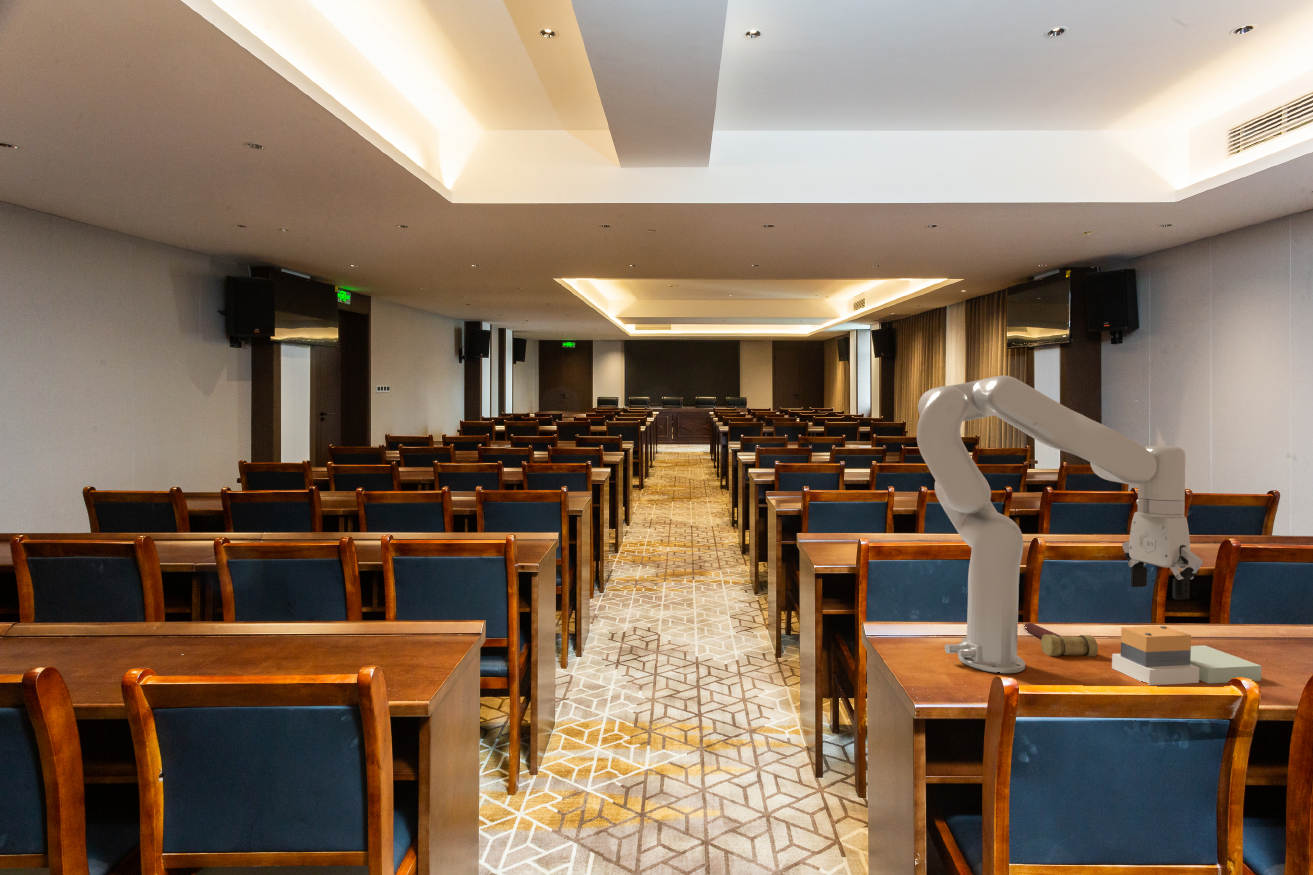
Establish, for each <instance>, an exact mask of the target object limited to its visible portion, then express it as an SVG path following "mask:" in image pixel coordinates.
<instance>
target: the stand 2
mask: <svg viewBox="0 0 1313 875" xmlns="http://www.w3.org/2000/svg"><path fill="white" fill-rule="evenodd" d="M1190 664H1191V665H1194V666H1196V667H1199V681H1201V682H1203V683H1205V684H1223V683H1224V684H1225V683H1229V682H1228V681H1230V679H1232V678H1236V677H1244V678H1249V679H1252V680H1254V681H1253V682H1260V681H1262V665H1260V664H1259V663H1258V664H1257V663H1254V662H1253V661H1249V660H1246V659H1243V658H1242V657H1239V656H1235V655H1233V654H1231V653H1226V652H1225V651H1222V650H1218V649H1216V648H1213V647H1210V646H1208V645H1205V644H1204V645H1191V657H1190Z"/></svg>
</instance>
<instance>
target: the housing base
mask: <svg viewBox="0 0 1313 875" xmlns="http://www.w3.org/2000/svg"><path fill="white" fill-rule="evenodd" d="M1120 653H1121V657H1123V658H1126V659H1128V660H1130V661H1133V662H1135V663H1137V664H1139V665H1142V666H1144V667H1158V666H1180V665H1190V657H1191V650H1181V651H1158V652H1145V651H1142V650H1140V649H1137V648H1135V647H1132V646H1130V645H1128V644H1125V643H1123V642H1121V641H1120Z"/></svg>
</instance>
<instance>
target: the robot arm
mask: <svg viewBox="0 0 1313 875" xmlns="http://www.w3.org/2000/svg"><path fill="white" fill-rule="evenodd" d="M917 403H918V405H917V411H918V414H919V419H918V422H917V426H916V443H917V446H918V449H919V452H920V455H921V457H922V459H923V460H924V462H925V465H926V466H927V468H928V470H929V472H930V474H931V476H932V477H933V479H934V480H935V481H934V492H935V497H936V498H937V500H938V502H939V504H940V505H941V507H942V509H943V510H944V512H945V514H946V515H947V517H948V519H949V520H950V522H951V523H952V525H953V526H954V529H955V530H956V531H957V533H958V535H959V536H960V537H961V539H962V541H963V542H964V543H965V544H966V545H967V546H968V547H969V548H971V550H970V551H971V552H970V553H971V554H970V560H969V564H968V576H967V577H968V578H967V614H966V615H967V617H966V618H967V619H966V620H967V622H966V625H967V626H966V637H962V638H961V642H959V643H957V644H955V643H947V644H945V645H944V651H945V653H946V654H948V655H949V654H950V655H951V654H957V655H958V656H957V657H958V660H959V661H960V662H961V663H962V664H964V665H966V666H968V667H971V668H973V669H976V670H980V671H984V672H990V673H996V674H998V673H997V672H1000V673H999V674H1016V673H1019V672H1022V671H1024V670H1025V669H1026V661H1025V660H1024V659H1023V658H1021V657H1020V656H1019V655H1018V626H1019V625H1018V624H1019V594H1020V593H1019V592H1020V591H1019V590H1020V589H1019V588H1020V587H1019V586H1020V585H1019V584H1020V571H1021V570H1020V568H1021V564H1022V563H1021V562H1022V559H1023V558H1022V557H1023V554H1024V553H1023V551H1024V536H1023V533H1022V531H1021V528H1020V526H1019V525H1018V524H1017V523H1016V522H1015V521H1014V520H1013V519H1011V518H1010V517H1009V516H1008V515H1005V514H1002V513H1000V512H998V511H997V509H996V508H995V506H994V504H993V502H992V501H991V499H992V498H991V497H992V490H991V486H990V485H989V482H988V480H987V478H986V477H985V476H984V475H983V473H982V472H981V470H980V469H979V468H978V466H977V463H975V460H974V459H973V458H972V456H971V455H970V453H969V451H968V449H967V447H966V446H965V444H964V442H963V439H962V435H961V428H962V423H963V422H967V421H974V420H978V419H984V418H990V417H994V416H995V417H997V418H998V419H1000V420H1002V421H1004V422H1005V423H1007V424H1009V425H1011V426H1012V427H1015V428H1016V429H1017V430H1019V431H1021V432H1023V433H1024V434H1026V435H1028V436H1029V437H1031V439H1032V438H1033V439H1034V440H1035V441H1038V442H1039V443H1041V444H1043V445H1045V446H1048V447H1050V448H1053V449H1055V450H1060V451H1063V452H1066V453H1069V454H1071V455H1074V456H1077V457H1079V458H1081V459H1083V460H1086V461H1087V462H1089V463H1090V467H1091V470H1092V471H1093V473H1094V474H1095V475H1096V476H1098V477H1100V478H1101V479H1103V480H1107V481H1109V482H1114V483H1115V482H1116V483H1120V484H1126V485H1132V486H1135V485H1137V499H1136V501H1135V502H1136V503H1135V504H1136V505H1137V511H1135V512H1134V513H1133V517H1132V520H1131V525H1130V532H1129V540H1127V541H1125V542H1123V543H1122V544H1121V547H1122V550H1123V551H1124V557H1125V559H1126V560H1127V561H1128V566H1129V567H1130V587H1132V588H1140V587H1141V588H1145V587H1147V585H1148V567H1147V566H1146V567H1145V565H1146V564H1149V565H1153V566H1156V567H1160V568H1161V567H1162V568H1170V570H1171V572H1172V574H1173V575H1174V577H1175V578H1173V579H1172V599H1173V600H1189V599H1190V597H1191V596H1190V595H1191V591H1190V590H1191V580H1193V579H1194V577H1195V576H1196V575H1197V574H1198V573H1199V572H1200V571H1199V570H1200V568H1201V566H1202V564H1203V559H1201V558H1200V557H1199V556H1198V555H1197V554H1196V553H1194V552H1193V551H1191V539H1190V531H1189V524H1188V519H1187V517H1186V516H1185V500H1186V499H1185V498H1186V497H1185V496H1186V494H1185V493H1186V452H1185V450H1184V449H1183V448H1181V447H1178V446H1169V445H1168V446H1165V445H1151V446H1150V445H1148V446H1143V445H1141V444H1140V443H1137V442H1136V441H1134V440H1133V439H1131V438H1129V437H1127V436H1126V435H1124V434H1122V433H1120V432H1118V431H1116V430H1115V429H1113V428H1111V427H1109V426H1106V425H1105V424H1102V423H1100V422H1097V421H1096V420H1093V419H1091V418H1089V417H1087V416H1085V415H1084V414H1081V413H1079V412H1077V411H1074V410H1072V409H1071V408H1068V407H1067V406H1066V405H1063V404H1062V403H1059V402H1058V401H1056V400H1054V399H1052V398H1051V397H1049V396H1047V395H1045V394H1044V393H1043V392H1040V391H1039V390H1037V389H1035V388H1033V387H1032V386H1030V385H1029V384H1026V383H1025V382H1023V381H1021V380H1020V379H1018V378H1015V377H1013V376H1010V375H997V376H991V377H987V378H982V379H978V380H973V381H969V382H964V383H957V384H952V385H942V386H937V387H933V388H930V389H929V390H927V391H925V392H924V393H923V394H922V395H921V396H920V399H918V402H917Z"/></svg>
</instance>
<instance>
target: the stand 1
mask: <svg viewBox="0 0 1313 875" xmlns="http://www.w3.org/2000/svg"><path fill="white" fill-rule="evenodd" d="M1111 658H1112V659H1111V669H1112V670H1115V671H1118V672H1120V673H1122V674H1124V675H1126V676H1127V677H1130V678H1133V679H1135V680H1136V681H1138V682H1141V681H1143V682H1147V683H1149V684H1148V686H1161V685H1181V684H1184V685H1185V684H1199V683H1200V680H1199V667H1196V666H1194V665H1191V664H1190V665H1180V666H1158V667H1144V666H1142V665H1139V664H1137V663H1135V662H1133V661H1130V660H1128V659H1126V658H1123V657H1121V652H1120V653H1112V656H1111ZM1143 682H1142V683H1143ZM1156 683H1158V684H1156Z"/></svg>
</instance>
